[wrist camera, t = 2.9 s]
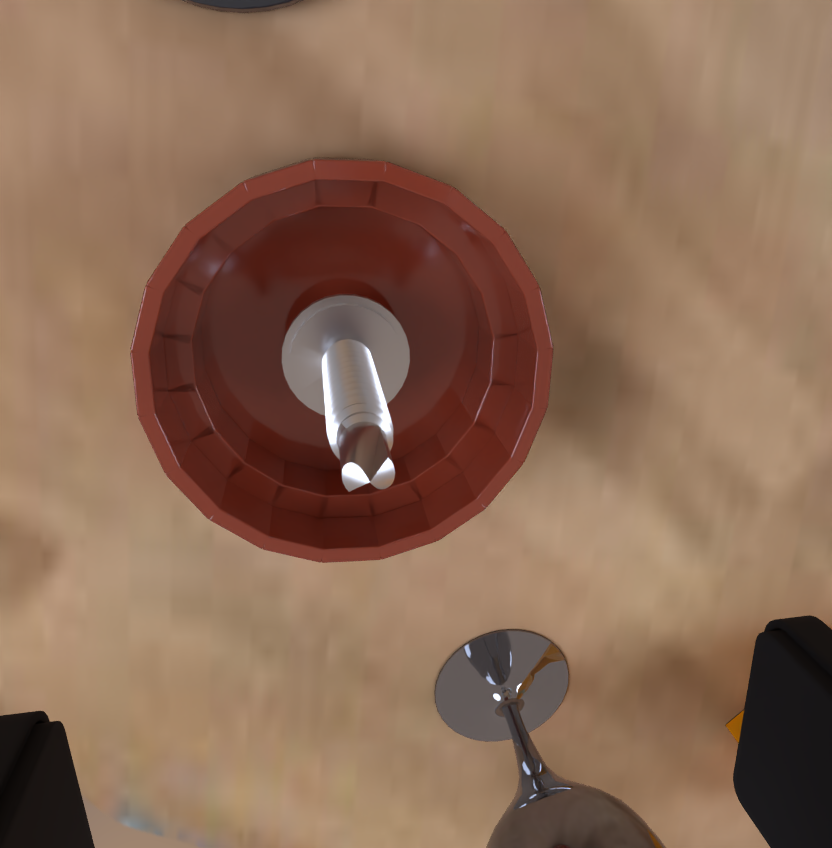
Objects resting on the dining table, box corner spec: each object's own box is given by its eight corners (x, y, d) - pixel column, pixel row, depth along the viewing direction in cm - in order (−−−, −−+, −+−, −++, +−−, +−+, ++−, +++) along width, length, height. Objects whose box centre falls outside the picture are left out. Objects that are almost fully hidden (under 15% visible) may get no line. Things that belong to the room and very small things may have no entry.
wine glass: (468, 769, 39) (558, 1113, 25) (399, 671, 36) (458, 999, 22) (598, 701, 38) (763, 1012, 25) (539, 596, 35) (689, 882, 22)
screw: (426, 347, 30) (341, 424, 30) (346, 259, 28) (257, 342, 29) (508, 481, 18) (363, 603, 18) (376, 341, 16) (221, 482, 17)
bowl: (100, 223, 27) (52, 241, 22) (462, 109, 27) (498, 100, 22) (242, 537, 32) (230, 610, 27) (542, 438, 32) (586, 492, 27)
